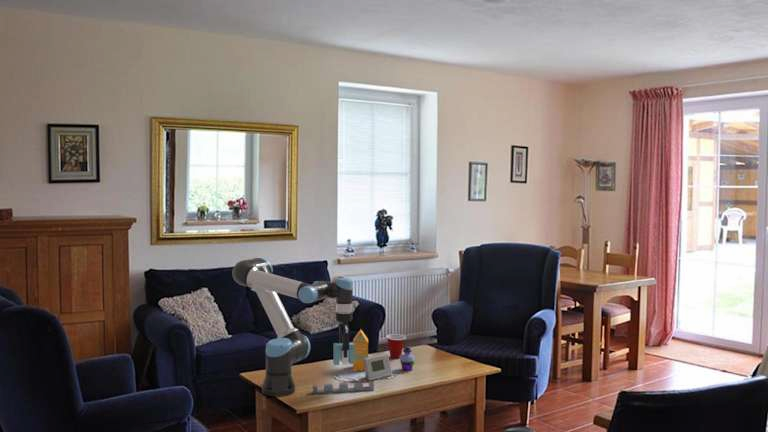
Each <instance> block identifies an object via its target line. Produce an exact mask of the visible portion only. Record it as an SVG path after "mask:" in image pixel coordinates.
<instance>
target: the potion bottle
mask: <svg viewBox="0 0 768 432" xmlns="http://www.w3.org/2000/svg"><path fill="white" fill-rule="evenodd" d="M402 353H404V354H401V355H400V356H399V357H400V358H399V363H400V366H401V371H403V372H411V371H413V366H414V365H415V360H416V355H413V354H411V353H412V348H411V346H409V345H408V346H403V350H402Z"/></svg>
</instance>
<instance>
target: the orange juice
mask: <svg viewBox="0 0 768 432" xmlns="http://www.w3.org/2000/svg"><path fill="white" fill-rule="evenodd" d="M352 342H353V343H354V344H355V364H352V371H353V370H365V366H364V362H363V360H364V359H365V358H368V357H369V338H368V337H367V335H366V334H365V333H364V331H363V330H362V328H360V330H359V331H358V332H357V333H356V334H355V336H354V338H353V341H352Z"/></svg>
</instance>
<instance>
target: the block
mask: <svg viewBox="0 0 768 432" xmlns="http://www.w3.org/2000/svg"><path fill="white" fill-rule="evenodd" d="M332 347H333V349H332V351H333V356H332V357H333V359H332V361H333V364H334V365H335V366H340V357H342V351H341V349H343V345H342V343H339V342H334V343H333V346H332ZM348 364H349V365H353V364H355V344H354V343H353V341H352V342H351V341H349V350H348Z"/></svg>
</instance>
